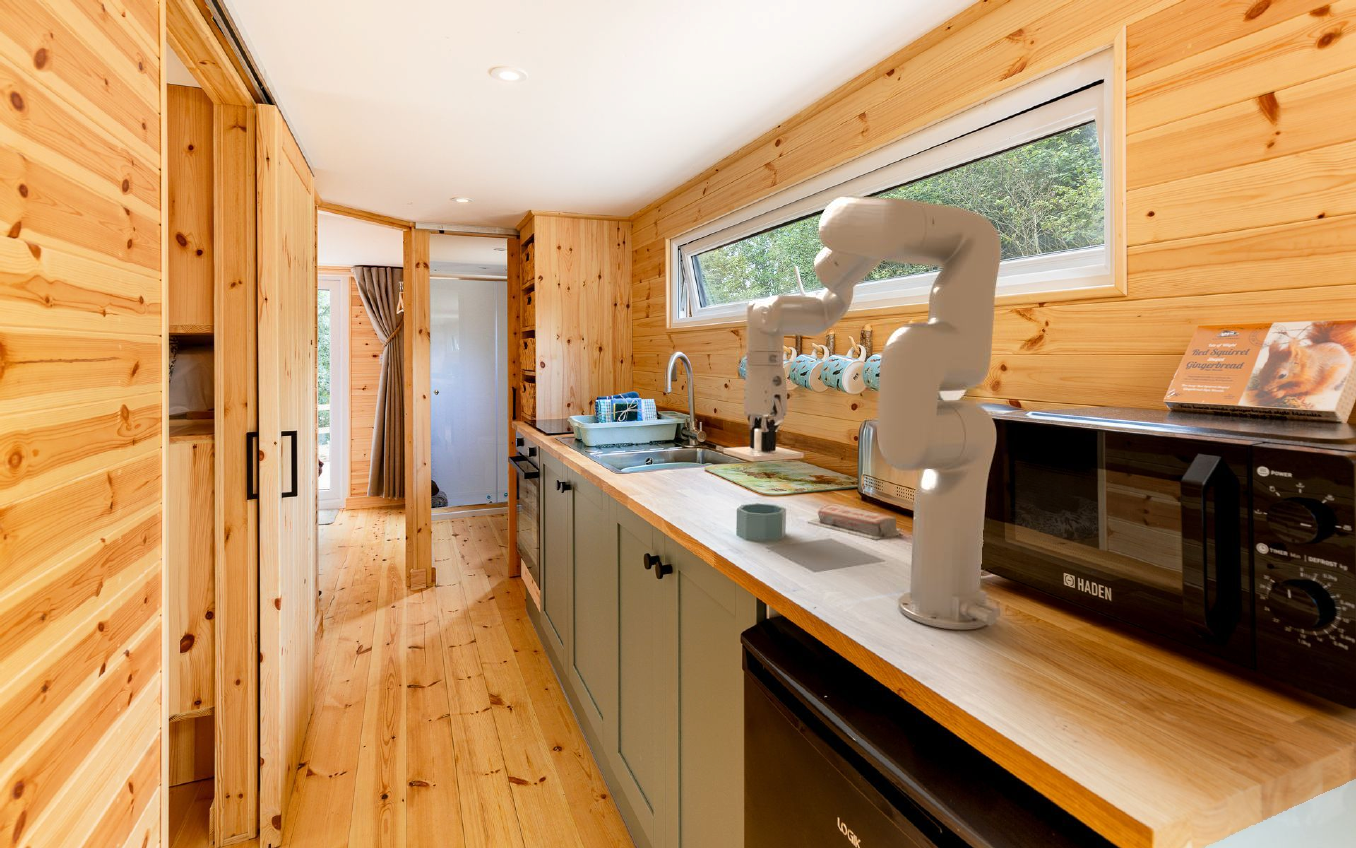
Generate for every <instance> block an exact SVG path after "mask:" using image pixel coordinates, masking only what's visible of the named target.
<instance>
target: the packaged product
mask: <svg viewBox="0 0 1356 848" xmlns="http://www.w3.org/2000/svg"><path fill="white" fill-rule="evenodd" d="M817 516H818V517H819V518H815V519H810V520H808V521H807V524H808V525H809V524H810V525H813V526H816V527H817V526H818V527H821V528H823V529H824V528H825V529H829V530H834V531H837V532H839V533H840V532H841V533H845V534H848V535H853V536H857V537H860V538H861V537H862V538H865V539H869V540H873V541H879V540H882V539H886V538H889V537H893V538H895V537H898V536H900V535H899V534H901V535H902V531H901V528H897V518H896V517H894V516H891V515H886V514H882V513H878V512H873V511H869V510H865V509H861V508H857V507H856V508H855V507H851V506H847V505H841V504H840V503H839V504H838V503H828V504H826V505H824V507H821V508H820V509H819V510H818V512H817ZM897 535H898V536H897Z"/></svg>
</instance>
